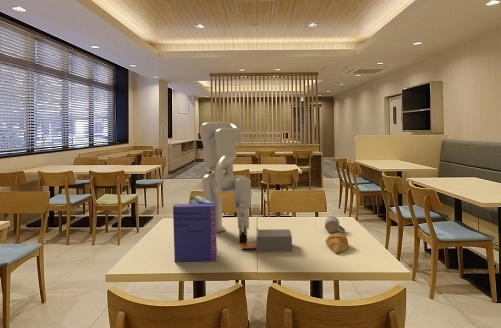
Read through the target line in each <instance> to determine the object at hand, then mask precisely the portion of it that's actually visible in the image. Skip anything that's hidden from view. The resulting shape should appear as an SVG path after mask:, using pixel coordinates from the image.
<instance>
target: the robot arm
mask: <svg viewBox="0 0 501 328" xmlns="http://www.w3.org/2000/svg"><path fill="white" fill-rule="evenodd" d="M199 130H200V131H199V135H200V139H201V142H202V146H203V165H204V169H205V171H207V172H214V173H208V174H204V175H203V177H202V179H201V186H202V190H203V198H204V199H206V200H208V201H210V202H213V204H216V234H217V233H221V232H225V230H226V227H225V226H223V220H222V219H223V216H222V215H223V213H222V212H223V211H222V209H223V208H222V196H221V195H220V193H218V191H220V192H223V193H227V192H228V193H229V192H234V208H235V209H236V214H237V216H236V217H237V228H238V229H237V230H239V229H240V243H247V242H248V234H247V235H246V229H247V230H249V229H250V209H249V208H251V207H252V203H251V202H252V201H251V200H252V199H251V197H252V193H251V192H252V191H251V190H252V189H251V178H249V177H247V176H246V177H245V176H244V175H242V174H240V175H239V174H238V175H237V174H236V175H234V160H235V159H236V157H237V150H236V147H235V145H239V144H242V142H243V141H244V138H243V137H244V136H243V135H244V134H243V132H242V130H241V128H239V126H237V125H235V124H234V123H232V122H230V121H207V122H203V123H202V124H201V125H200V128H199Z"/></svg>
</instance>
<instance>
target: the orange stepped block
mask: <svg viewBox="0 0 501 328" xmlns="http://www.w3.org/2000/svg"><path fill="white" fill-rule="evenodd" d="M246 235H247V236H248V229H246ZM238 236H239V237H238V239H239V243H238V244H239V249H257V240H255V241H247V243H240V229H238Z"/></svg>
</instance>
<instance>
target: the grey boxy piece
mask: <svg viewBox="0 0 501 328" xmlns="http://www.w3.org/2000/svg"><path fill="white" fill-rule="evenodd" d="M256 241H257V248H256V253H259V252H260V253H261V252H264V253H265V252H267V253H269V252H271V253H272V252H276V253H277V252H281V253H282V252H293V236H292V233H291V230H290V229H287V228H286V229H284V228H283V229H281V228H279V229H275V228H274V229H270V228H269V229H259V227H256Z"/></svg>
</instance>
